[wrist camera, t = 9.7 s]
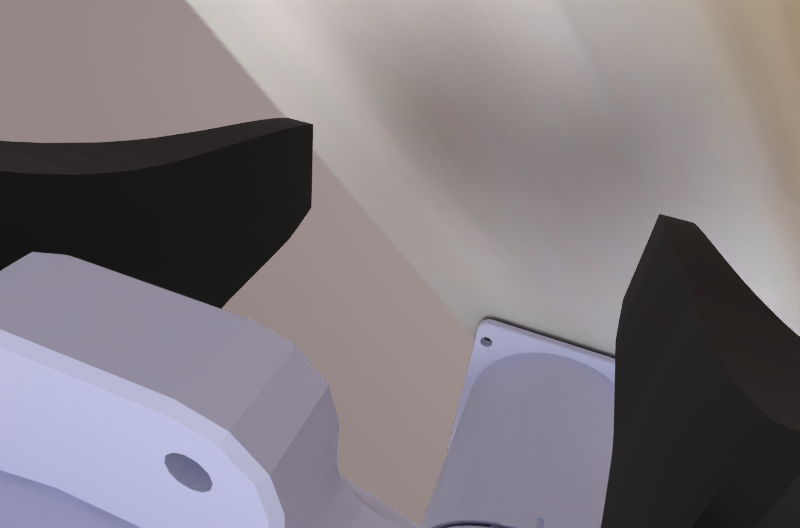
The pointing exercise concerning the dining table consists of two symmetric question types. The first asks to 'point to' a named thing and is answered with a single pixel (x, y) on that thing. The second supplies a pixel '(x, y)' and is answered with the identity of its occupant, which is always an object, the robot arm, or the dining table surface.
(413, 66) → the dining table surface
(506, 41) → the dining table surface
